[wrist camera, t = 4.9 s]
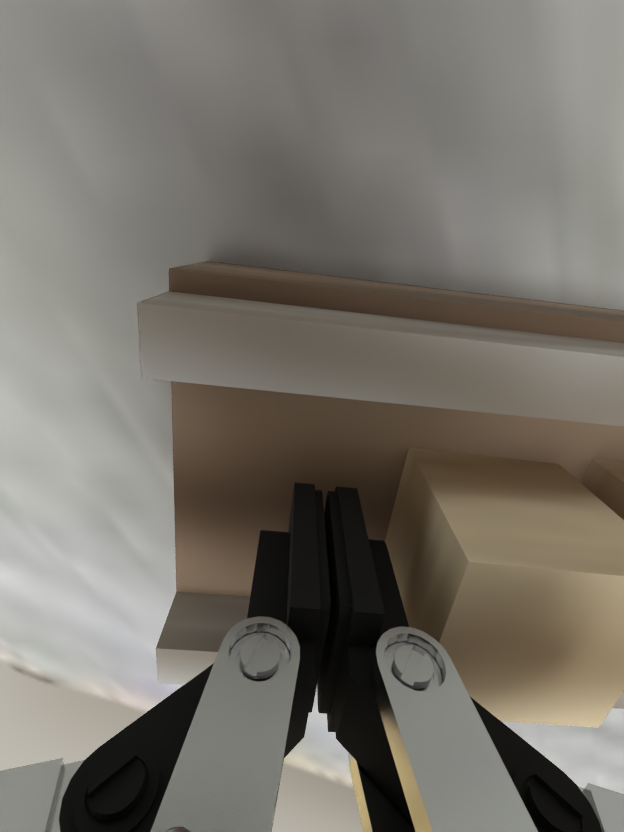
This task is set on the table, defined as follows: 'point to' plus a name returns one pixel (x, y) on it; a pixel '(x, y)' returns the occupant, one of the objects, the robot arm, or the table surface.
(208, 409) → the brown wooden channel
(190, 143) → the table surface
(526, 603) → the tan wooden cube
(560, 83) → the table surface
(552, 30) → the table surface
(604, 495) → the pale yellow cube
